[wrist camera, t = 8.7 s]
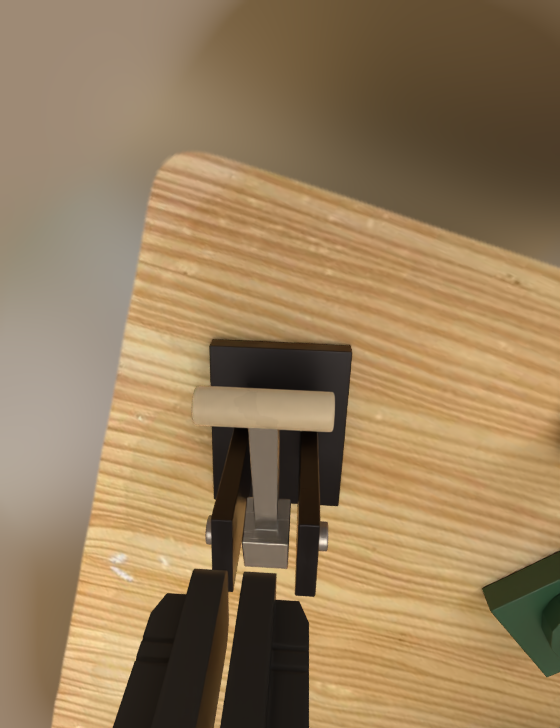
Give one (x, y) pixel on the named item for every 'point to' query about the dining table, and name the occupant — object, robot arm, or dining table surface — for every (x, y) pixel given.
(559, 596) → the button box
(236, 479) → the bracket
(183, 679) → the robot arm
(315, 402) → the lever
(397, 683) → the dining table surface
